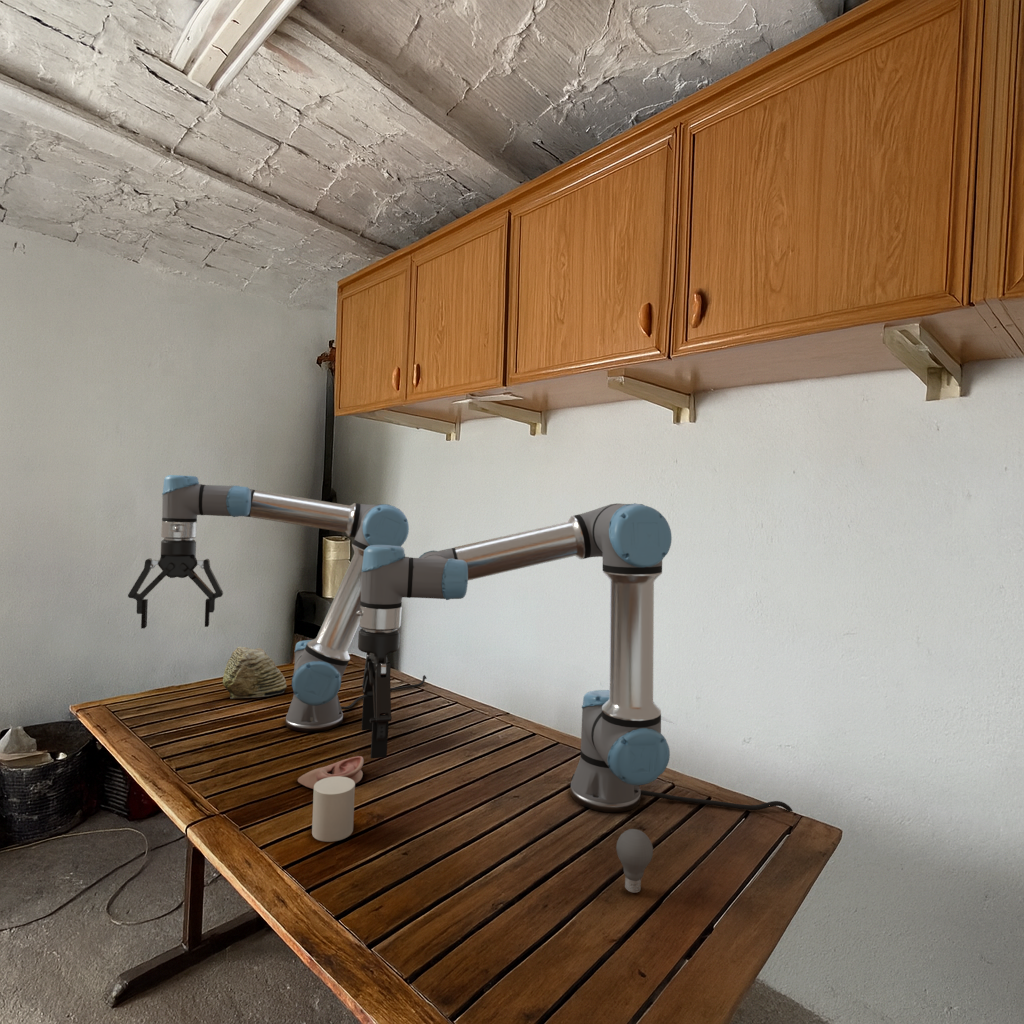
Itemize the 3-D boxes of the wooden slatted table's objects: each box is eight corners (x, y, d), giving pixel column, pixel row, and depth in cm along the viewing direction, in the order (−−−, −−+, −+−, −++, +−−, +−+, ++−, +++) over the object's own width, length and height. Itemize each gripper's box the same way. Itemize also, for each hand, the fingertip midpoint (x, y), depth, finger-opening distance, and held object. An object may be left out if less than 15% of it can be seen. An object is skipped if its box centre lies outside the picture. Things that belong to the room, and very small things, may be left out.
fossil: (218, 695, 195) (220, 647, 195) (278, 685, 208) (279, 640, 207) (228, 703, 189) (230, 653, 188) (289, 692, 201) (290, 645, 201)
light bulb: (610, 879, 108) (613, 822, 108) (644, 879, 109) (647, 822, 109) (619, 902, 102) (622, 840, 102) (655, 901, 103) (658, 840, 103)
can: (305, 839, 117) (306, 792, 117) (321, 819, 125) (323, 774, 124) (344, 843, 116) (346, 795, 116) (358, 823, 124) (360, 778, 124)
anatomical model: (290, 768, 137) (317, 748, 149) (290, 786, 138) (316, 764, 149) (347, 776, 135) (370, 755, 146) (346, 794, 135) (369, 772, 146)
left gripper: (115, 539, 145) (112, 631, 146) (234, 541, 154) (231, 628, 154) (123, 536, 152) (120, 624, 153) (236, 539, 161) (233, 622, 161)
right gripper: (352, 616, 128) (346, 720, 128) (367, 644, 104) (360, 772, 105) (389, 615, 130) (383, 718, 131) (412, 643, 107) (405, 768, 107)
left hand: (175, 626), depth 153 cm, fingers open, 13 cm apart
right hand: (373, 742), depth 118 cm, fingers open, 13 cm apart
